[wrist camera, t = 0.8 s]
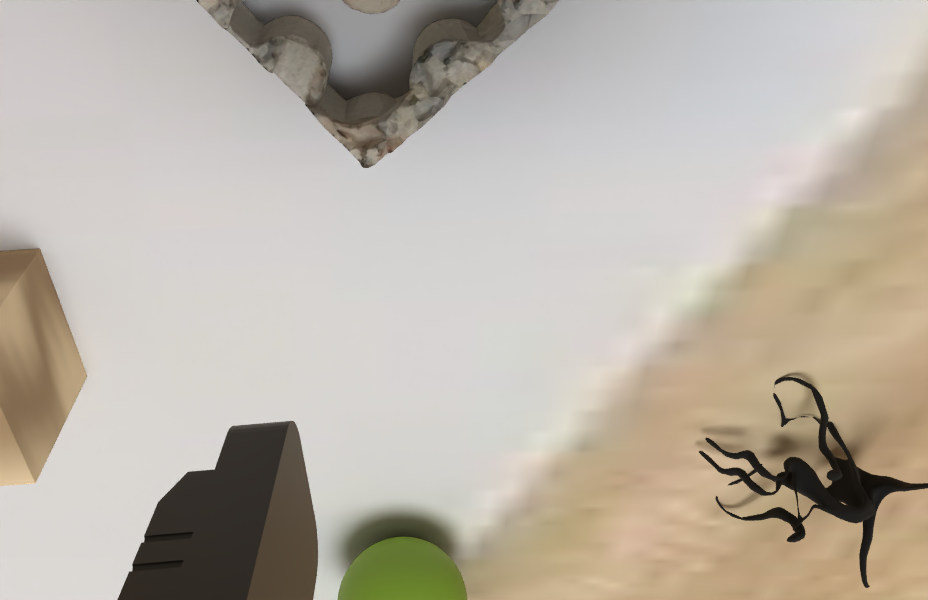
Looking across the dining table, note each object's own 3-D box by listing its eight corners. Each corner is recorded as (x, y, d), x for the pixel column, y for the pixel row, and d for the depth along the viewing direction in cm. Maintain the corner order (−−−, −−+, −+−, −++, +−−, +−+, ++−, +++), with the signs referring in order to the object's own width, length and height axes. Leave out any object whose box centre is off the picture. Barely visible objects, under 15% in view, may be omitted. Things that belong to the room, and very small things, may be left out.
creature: (669, 482, 39) (840, 528, 38) (674, 575, 34) (867, 628, 34) (733, 347, 34) (925, 398, 34) (748, 432, 30) (969, 492, 30)
